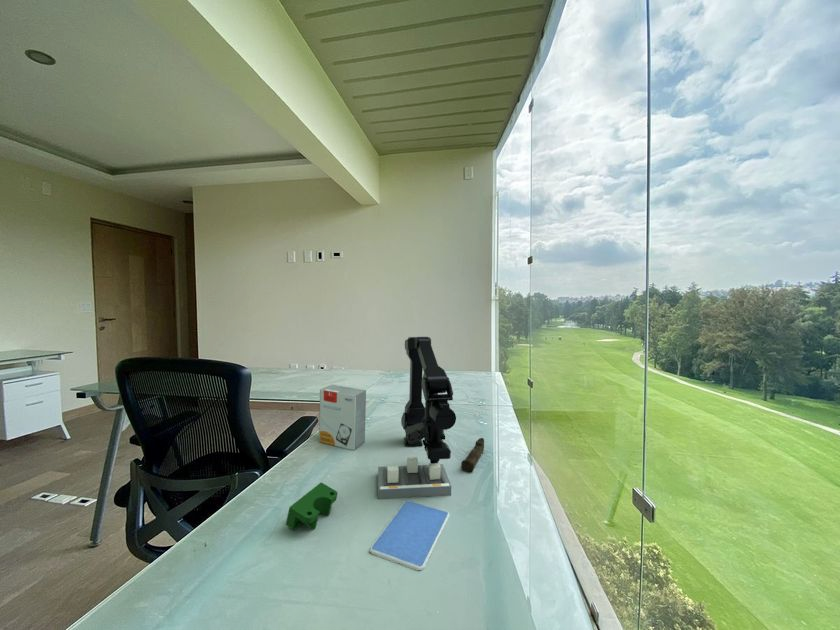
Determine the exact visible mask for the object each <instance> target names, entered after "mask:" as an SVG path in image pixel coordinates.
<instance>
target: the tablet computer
mask: <svg viewBox="0 0 840 630" xmlns="http://www.w3.org/2000/svg"><path fill="white" fill-rule="evenodd" d="M449 518H450V512H448V511H446V510H442V509H440V508H439V509H438V508H436V507H435V508H434V507H432V506H429V505H425V504H422V503H418V502H415V501H411V500H404V502H403V503H402V504H401V506H400V507H399V509H397V511H396V513H395V514H394V515H393V516H392V518H391V520H390V521H389V522H388V523H387V525H386V526H385V528H384V529H383V530H382V532H381V533H380V534H379V535H378V537H377V538H376V540H375V541H374V542H373V543H372V544H371V546H370V548H369V552H371V553H370V554H371V555H374V556H376V555H377V557H380V558H382V559H384V558H385V559H384V560H388V561H390V560H391V562H393V561H394V562H393V563H395V562H397V563H396V564H398V563H400V564H399V565H401V564H403V565H402V566H404V565H405V566H404V567H406V566H407V568H409V567H410V569H412V568H413V569H412V570H415V569H416V571H418V570H421V571H423V570H424V569H425V567H426V565H427V563H428V561H429V559H430V558H431V557H430V556H431V555H432V552H433V551H434V549H435V546H436V545H437V542H438V541H439V538H440V537H441V534H442V532H443V530H444V528H445V527H446V524H447V522H448V520H449Z"/></svg>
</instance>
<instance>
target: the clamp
mask: <svg viewBox="0 0 840 630" xmlns="http://www.w3.org/2000/svg"><path fill="white" fill-rule="evenodd" d="M337 499H338V491H337V490H335V489H333V488H332V487H330V486H328V485H326V484H325V483H323V482H322V481H321V482H320V483H318V484H317V485H316V486H314V487H313V488H312V489H311V490H309V491H308V492H306V493H305V494H304V495H303V496H302V497H300V498H298V500H297V501H296V502H294V503H293V504H292V505H290V506H289V509H288V513H287V517H286V521H285V526H286V527H288V528H290V529H291V530H292V531H295V530H296V529H297V528H299V527H300V526H301V525H302V524H304V525H306V526H307V527H309V528H310V529H312V530H316V528H317V524H318V520H319V516H320V514H323V515H325V516H327V517H329V516H330V514H331V509H332V505H333V504H334V503H335V502H336V501H337Z"/></svg>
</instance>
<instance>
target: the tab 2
mask: <svg viewBox="0 0 840 630" xmlns="http://www.w3.org/2000/svg"><path fill="white" fill-rule="evenodd" d="M418 465H419V460H418V457H417V456H411V457H410V456H409V457H406V466H407V473H418Z"/></svg>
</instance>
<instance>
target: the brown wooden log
mask: <svg viewBox="0 0 840 630" xmlns="http://www.w3.org/2000/svg"><path fill="white" fill-rule="evenodd" d="M484 450H485V439H484V437H480V438H478V439H477V440H476V441H475V444H474V447H472V449H471V451H469V453H468V455H467V457H466V458H465V459H463V460H462V462H461V465H460V466H461V467H460V468H461V470H462V471H463V472H466V473H473V472H474V470H475V466H476V465H477V462H478V461H479V460H480V458H481V456H482V455H483V454H484ZM481 454H482V455H481Z"/></svg>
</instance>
